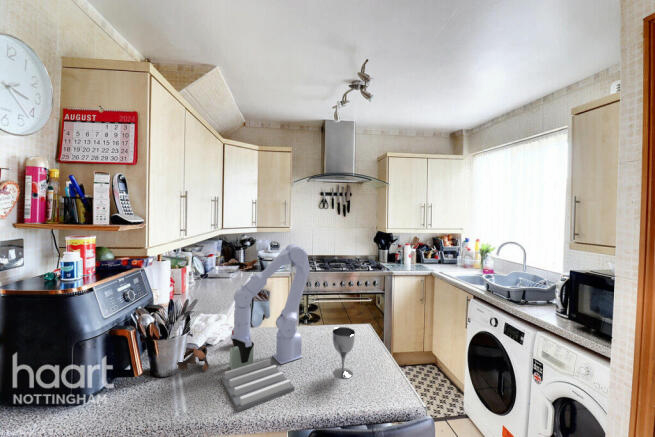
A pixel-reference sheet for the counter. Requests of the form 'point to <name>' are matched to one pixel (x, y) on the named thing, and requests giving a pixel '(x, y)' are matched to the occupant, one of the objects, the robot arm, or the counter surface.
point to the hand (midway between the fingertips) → (241, 358)
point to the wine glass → (343, 349)
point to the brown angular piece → (194, 358)
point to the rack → (255, 384)
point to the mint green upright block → (238, 358)
